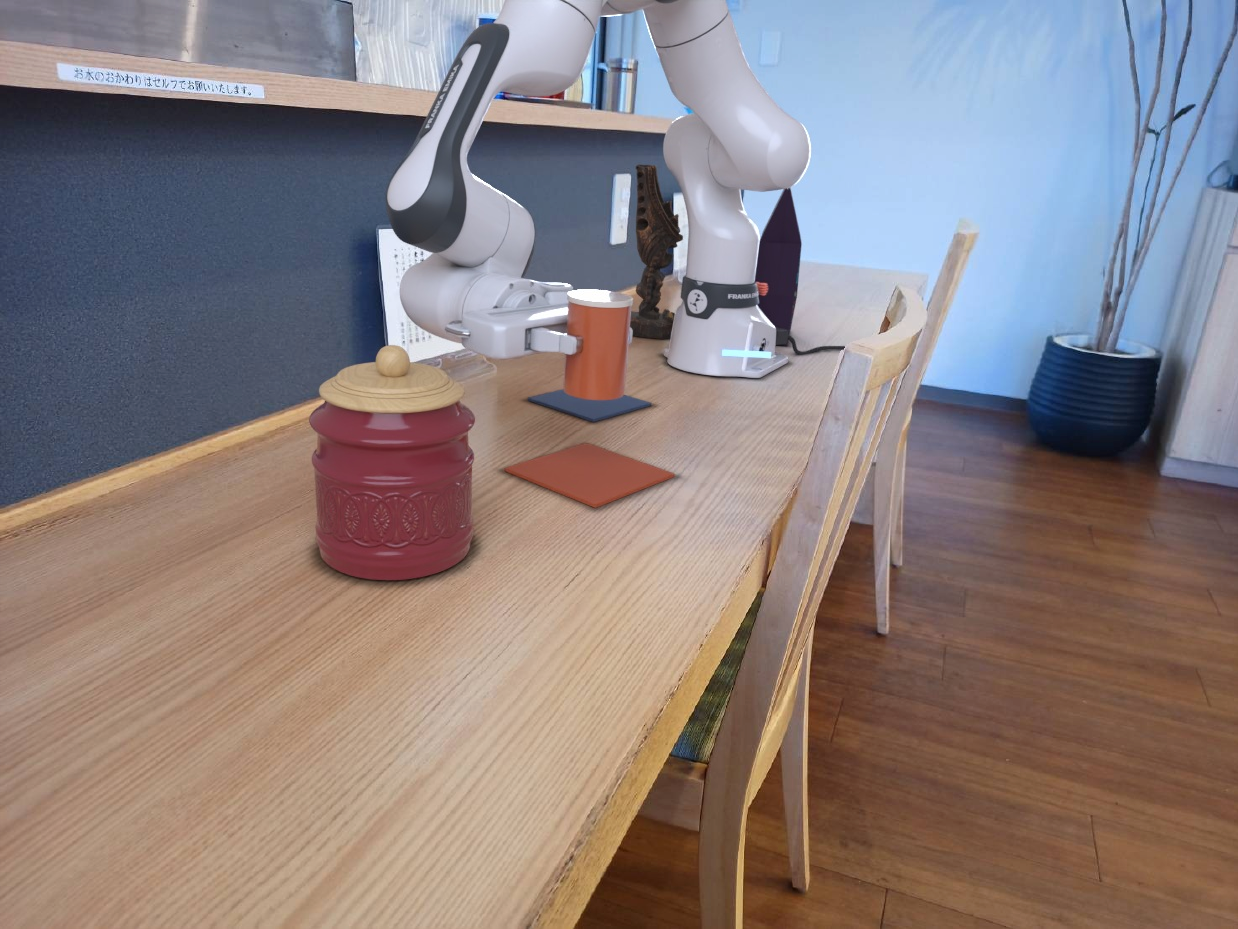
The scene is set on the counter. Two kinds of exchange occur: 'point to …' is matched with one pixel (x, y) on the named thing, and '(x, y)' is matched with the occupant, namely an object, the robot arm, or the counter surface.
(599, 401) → the blue mat
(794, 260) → the dark pointed faceted spire
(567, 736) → the counter surface
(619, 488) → the terracotta mat
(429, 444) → the kitchen canister
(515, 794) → the counter surface
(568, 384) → the tumbler
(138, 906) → the counter surface
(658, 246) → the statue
